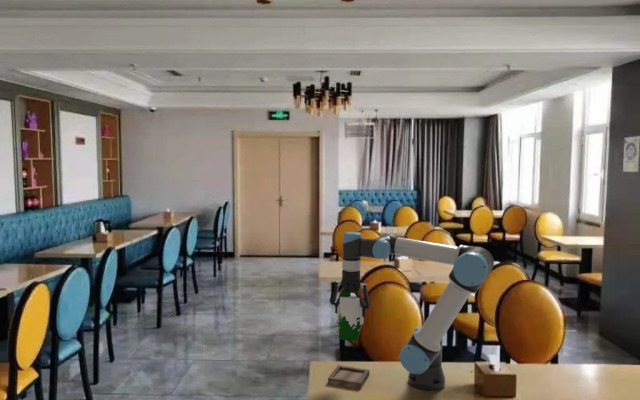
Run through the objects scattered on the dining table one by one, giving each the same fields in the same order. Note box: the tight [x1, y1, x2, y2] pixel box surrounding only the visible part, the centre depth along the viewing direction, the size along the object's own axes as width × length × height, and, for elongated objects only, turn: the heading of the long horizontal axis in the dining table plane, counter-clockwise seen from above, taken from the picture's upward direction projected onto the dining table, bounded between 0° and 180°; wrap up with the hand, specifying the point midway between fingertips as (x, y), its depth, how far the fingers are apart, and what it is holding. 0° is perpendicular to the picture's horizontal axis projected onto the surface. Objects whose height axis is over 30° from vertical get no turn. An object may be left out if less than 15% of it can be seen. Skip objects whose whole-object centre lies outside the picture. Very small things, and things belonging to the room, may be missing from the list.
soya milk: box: [338, 289, 362, 342], centre depth 220 cm, size 9×9×20 cm
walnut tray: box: [327, 364, 370, 390], centre depth 222 cm, size 14×14×2 cm
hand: (350, 322), depth 220 cm, fingers closed on soya milk, 9 cm apart
